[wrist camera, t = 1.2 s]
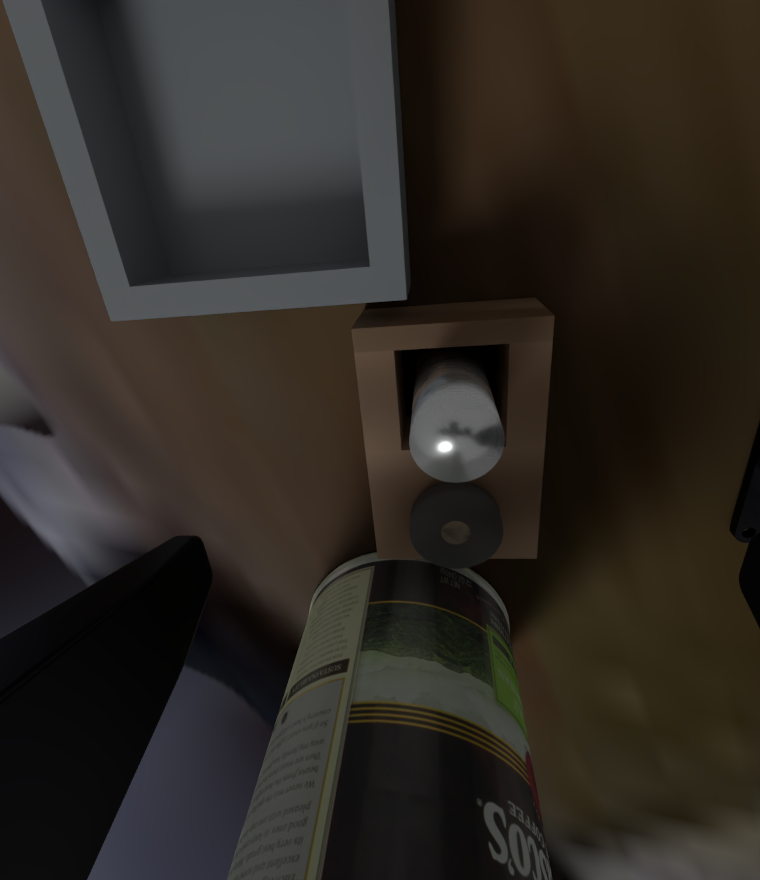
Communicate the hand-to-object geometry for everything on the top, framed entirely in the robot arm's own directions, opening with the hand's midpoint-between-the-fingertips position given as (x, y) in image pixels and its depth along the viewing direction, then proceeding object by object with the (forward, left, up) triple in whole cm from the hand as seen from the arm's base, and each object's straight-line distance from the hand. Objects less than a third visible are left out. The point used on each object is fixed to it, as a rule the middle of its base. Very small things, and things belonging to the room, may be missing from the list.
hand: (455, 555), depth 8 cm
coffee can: (-14, +2, -11) cm, 18 cm away
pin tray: (+8, +6, -11) cm, 14 cm away
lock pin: (0, 0, -11) cm, 11 cm away
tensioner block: (-2, 0, -11) cm, 11 cm away
